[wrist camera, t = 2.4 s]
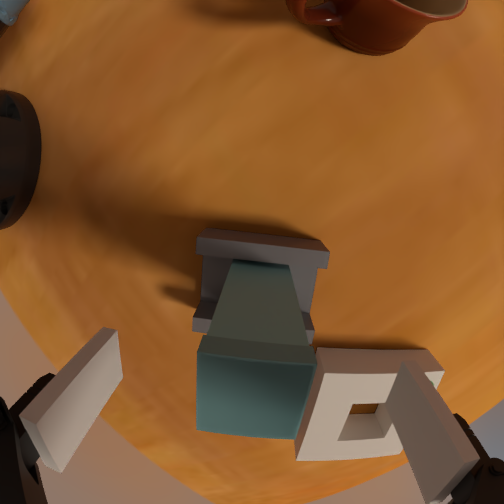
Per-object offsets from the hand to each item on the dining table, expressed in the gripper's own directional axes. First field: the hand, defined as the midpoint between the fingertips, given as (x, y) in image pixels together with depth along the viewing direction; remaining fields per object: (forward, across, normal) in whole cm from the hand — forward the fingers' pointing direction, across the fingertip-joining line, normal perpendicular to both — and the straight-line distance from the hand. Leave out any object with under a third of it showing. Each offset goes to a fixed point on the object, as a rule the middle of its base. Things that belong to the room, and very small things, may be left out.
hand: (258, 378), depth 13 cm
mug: (+13, +5, +22) cm, 26 cm away
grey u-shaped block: (+13, 0, 0) cm, 13 cm away
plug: (+12, 0, 0) cm, 12 cm away
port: (+13, +12, -12) cm, 21 cm away
